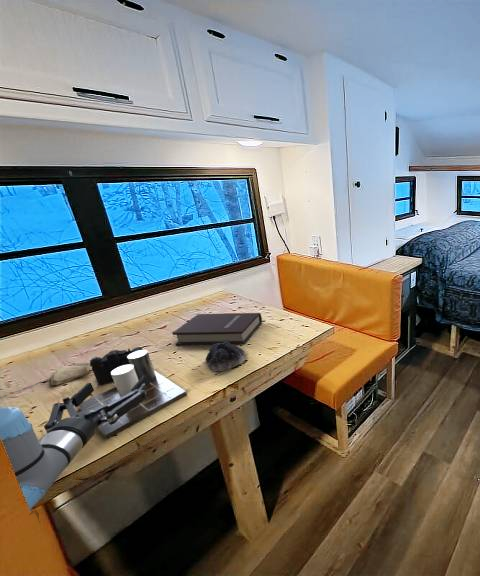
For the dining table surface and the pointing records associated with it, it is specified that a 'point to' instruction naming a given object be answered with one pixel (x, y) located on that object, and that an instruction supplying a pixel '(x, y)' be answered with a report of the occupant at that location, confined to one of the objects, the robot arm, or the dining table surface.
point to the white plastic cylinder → (124, 379)
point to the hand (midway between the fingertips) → (119, 382)
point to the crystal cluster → (224, 356)
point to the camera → (110, 364)
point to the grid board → (157, 399)
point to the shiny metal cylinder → (142, 364)
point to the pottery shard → (69, 373)
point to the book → (218, 329)
